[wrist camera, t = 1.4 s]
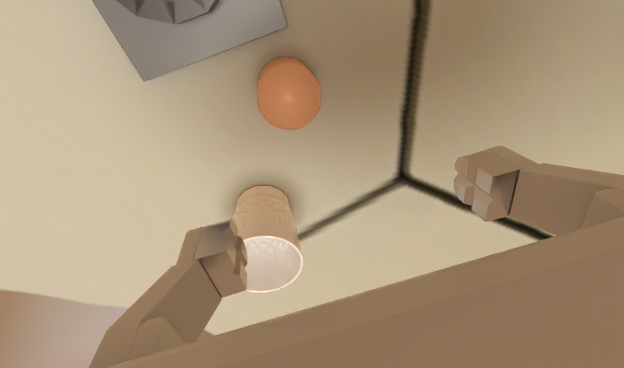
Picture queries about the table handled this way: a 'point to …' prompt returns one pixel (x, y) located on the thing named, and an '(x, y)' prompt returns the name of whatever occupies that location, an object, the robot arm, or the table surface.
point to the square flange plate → (185, 29)
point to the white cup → (268, 238)
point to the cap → (288, 93)
